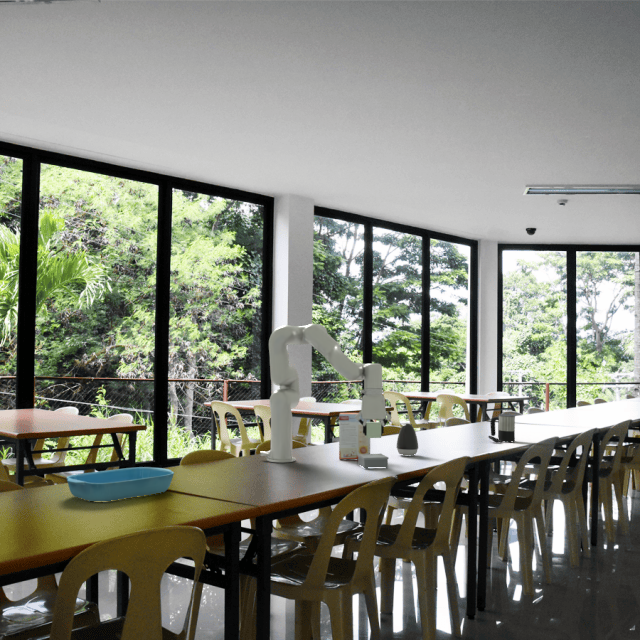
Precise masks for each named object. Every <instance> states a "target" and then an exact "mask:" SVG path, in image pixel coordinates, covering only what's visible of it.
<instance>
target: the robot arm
mask: <svg viewBox="0 0 640 640" xmlns="http://www.w3.org/2000/svg"><path fill="white" fill-rule="evenodd" d="M288 345H289V346H292V345H293V346H298V345H311V346H312V347H313V348H314V349H315V350H316V351H317V352H318V353H320V354H321V355H322V356H323V357H324V358H325V359H326V361H327V362H328V363H329V364H330V365H331V366H332V367H333V369H334V370H335V371H336V372H338V373H339V374H340V375H341V376H342V377H344V379H346V380H348V381H350V382H352V381H364V382H363V383H364V384H363V385H364V388H363V389H360V393H361V394H364V395H362V399H361V410H360V411H359V412H357V413H358V414H357V415H356V416H355V418H356V419H357V420H358V421H359V422H360V423H361V424H362V425H363V433H364V435H365V436H366V435H367V426H366V422H367V420H370V421H371V420H373V421H374V420H376V421H377V420H378V422H380V423H381V437H382V436H383V434H384V433H385V432H384V430H385V428H384V426H385V425H386V424H387V423H388V422H389V421H390V420H391V419H392V415H390V414H389V413H388V412H387V411H386V410H387V409H386V400H385V396H384V395H383V366H382V364H381V363H362V362H353V360H352V359H350V358H349V357H348V356H347V355H346V354H345V352H343V351H342V349H341V345H340V344H339V342H338V341H336V340H335V338H333V337H332V336H331V335H330V334H329V333H328V330H327V328H326V327H325V326H324V325H322V324H320V323H319V324H317V323H309V324H308V325H302V326H301V325H300V326H299V325H298V326H296V325H295V326H294V325H288V324H286V325H281V326H279V327H277V328H275V329H274V330H273V331H272V333H271V334H270V337H269V340H268V350H269V352H268V353H269V366H270V367H269V368H270V370H269V371H270V380H271V382H272V384H273V385H275V386H277V387H279V388H278V389H277V390H274V391H273V392H272V394H271V395H270V397H269V409H270V410H269V411H270V450H267V451H263V450H262V451H260V456H261V457H266V461H267V462H271V463H284V464H285V463H292V462H295V461H296V457H293V414H292V410H293V409H295V408H296V407H297V406H298V405H299V402H300V399H301V398H300V397H301V395H300V380H299V379H300V378H299V374H298V371H297V369H296V367H295V366H293V365H291V364H290V360H289V359H290V356H289V351H288ZM360 416H361V417H362V418H363V419H364V420H363V421H362V420H361V419H360V418H359V417H360Z"/></svg>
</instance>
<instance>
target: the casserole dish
mask: <svg viewBox="0 0 640 640" xmlns="http://www.w3.org/2000/svg"><path fill="white" fill-rule="evenodd" d="M174 475H175V472H174V471H172V470H171V469H170V468H169V469H168V468H164V467H163V468H162V467H151V466H144V467H143V466H139V467H126V468H118V469H110V470H109V469H108V470H100V471H93V472H86V473H85V472H84V473H78V474H71V475H67V476H66V481H67V485H68V488H69V492H70V493H71V494H72V496H73V497H74V498H76V497H78V498H82V499H85V500H84V501H86V500H89V501H88V502H90V501H111V500H118V499H124V498H131V497H137V496H144V495H149V496H152V495H151V494H155V495H157V494H156V493H160V494H162V493H161V492H163V493H165V492H167V490H168V489H169V488H170V486H171V483H172V481H173V477H174ZM144 497H145V496H144ZM78 498H77V499H78ZM82 499H81V500H82Z"/></svg>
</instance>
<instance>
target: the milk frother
mask: <svg viewBox="0 0 640 640" xmlns="http://www.w3.org/2000/svg"><path fill="white" fill-rule="evenodd" d="M496 421H497V422H498V423H497V432H498V433H497V437H494V436H496ZM515 422H516V415H515V414H507V413H506V414H505V413H504V414H502V413H501V414H498V416H494V417H492V418H491V419H490V435H488V436H487V438H488V439H489V440H491V441H493V443H495V442H497V443H499V442H501V443H503V442H502V441H515V442H516V440H515V439H516V434H515V433H516V432H515V429H516V426H515V425H516V424H515Z"/></svg>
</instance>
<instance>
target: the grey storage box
mask: <svg viewBox="0 0 640 640" xmlns="http://www.w3.org/2000/svg"><path fill="white" fill-rule="evenodd" d="M357 456H358V460H357V462H358V463H357V465H358V464H359V465H361V466H363V467H364V468H368V467H388V465H389V464H388V463H389V462H388V461H389V456H387V455H384V454H382V453H370V454H357Z"/></svg>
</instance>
